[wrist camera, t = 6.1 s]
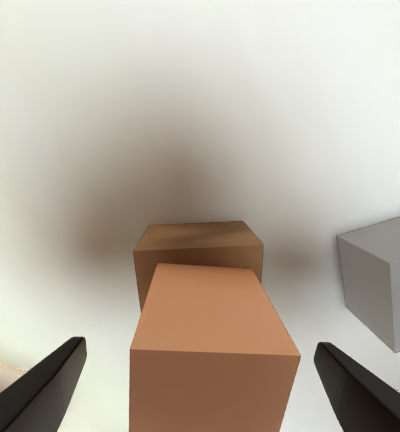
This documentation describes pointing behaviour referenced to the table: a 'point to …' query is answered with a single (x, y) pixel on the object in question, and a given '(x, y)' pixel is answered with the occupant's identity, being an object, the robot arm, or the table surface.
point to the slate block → (373, 278)
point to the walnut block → (196, 249)
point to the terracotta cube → (209, 354)
